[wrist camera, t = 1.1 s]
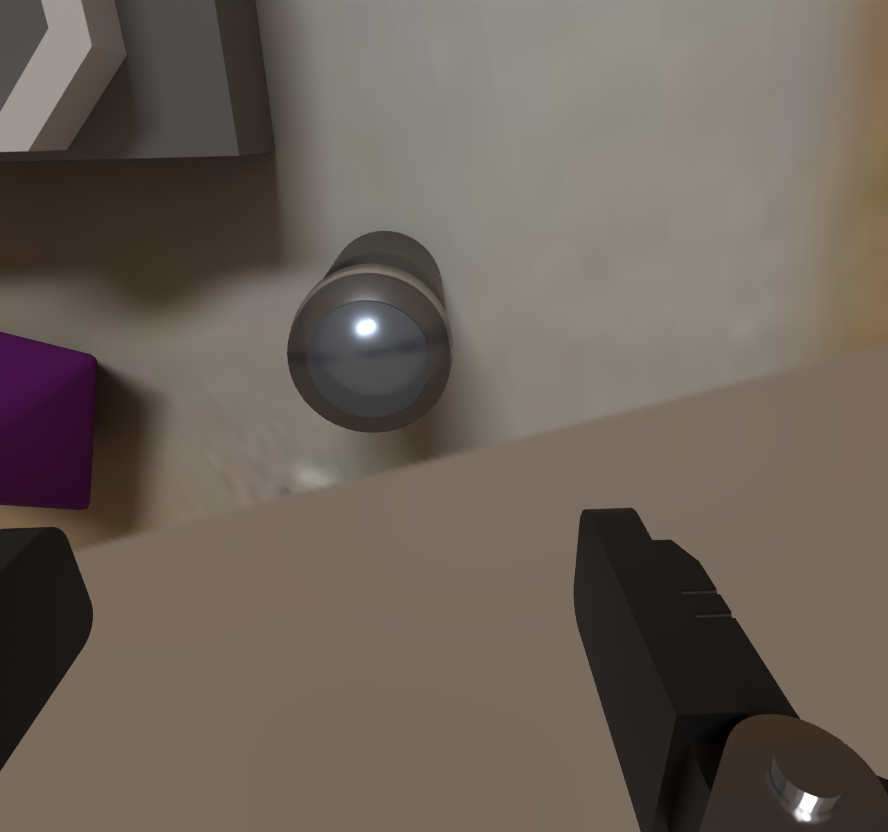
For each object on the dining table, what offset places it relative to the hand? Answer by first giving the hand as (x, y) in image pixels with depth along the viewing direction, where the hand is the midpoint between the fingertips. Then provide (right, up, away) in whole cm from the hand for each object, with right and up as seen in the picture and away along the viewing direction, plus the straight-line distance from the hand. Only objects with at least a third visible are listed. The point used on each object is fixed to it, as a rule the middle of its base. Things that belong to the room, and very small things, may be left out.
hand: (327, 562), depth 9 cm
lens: (-1, +8, +16) cm, 18 cm away
